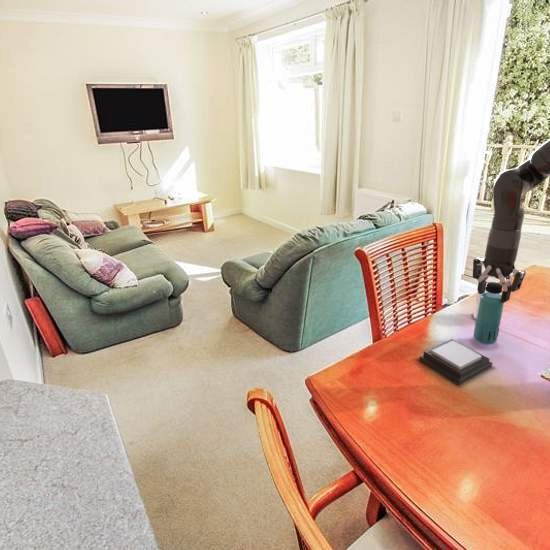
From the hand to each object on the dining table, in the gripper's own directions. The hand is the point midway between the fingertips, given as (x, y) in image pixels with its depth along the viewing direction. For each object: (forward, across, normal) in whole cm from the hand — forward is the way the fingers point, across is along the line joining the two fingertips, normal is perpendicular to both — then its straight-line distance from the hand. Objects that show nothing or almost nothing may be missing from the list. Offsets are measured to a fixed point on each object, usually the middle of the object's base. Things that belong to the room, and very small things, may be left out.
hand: (492, 297), depth 109 cm
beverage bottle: (+16, 0, 0) cm, 16 cm away
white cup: (+16, +9, -14) cm, 23 cm away
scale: (+16, -2, +16) cm, 23 cm away
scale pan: (+14, -2, +16) cm, 21 cm away
